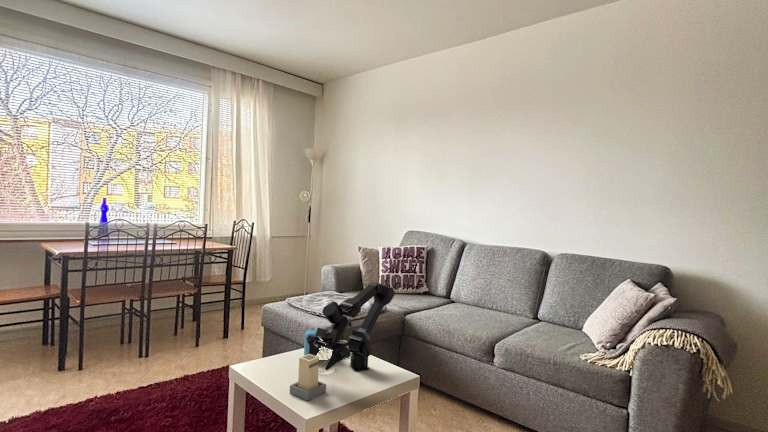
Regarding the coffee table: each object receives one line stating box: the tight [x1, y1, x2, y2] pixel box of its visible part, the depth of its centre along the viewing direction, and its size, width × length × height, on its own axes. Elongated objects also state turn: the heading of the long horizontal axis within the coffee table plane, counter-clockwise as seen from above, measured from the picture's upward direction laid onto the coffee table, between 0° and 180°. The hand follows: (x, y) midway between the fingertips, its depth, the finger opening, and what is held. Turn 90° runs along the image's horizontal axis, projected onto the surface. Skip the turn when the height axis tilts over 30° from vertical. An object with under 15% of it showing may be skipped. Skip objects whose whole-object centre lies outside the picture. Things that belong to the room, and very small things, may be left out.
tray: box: [289, 380, 327, 402], centre depth 156 cm, size 9×9×3 cm
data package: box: [303, 329, 320, 356], centre depth 189 cm, size 12×4×12 cm, turn 105°
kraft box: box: [297, 354, 320, 392], centre depth 155 cm, size 5×5×13 cm
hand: (316, 366), depth 159 cm, fingers open, 9 cm apart
